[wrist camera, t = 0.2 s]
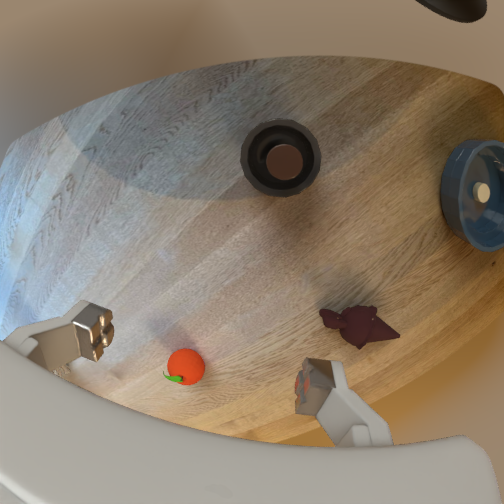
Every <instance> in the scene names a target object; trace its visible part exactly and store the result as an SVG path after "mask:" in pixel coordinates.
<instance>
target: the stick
mask: <svg viewBox="0 0 504 504" xmlns="http://www.w3.org/2000/svg"><path fill="white" fill-rule="evenodd" d="M266 164H267V168H268V170H269V172H270V173H271V174H272V175H273V176H274V177H276V178H278V179H281V180H289V179H292V178H294V177H296V176H297V175H298V174H299V173H300V171H301V169H302V166H303V159H302V155H301V153H300V152H299V151H298V150H297V149H296V148H295V147H293V146H291V145H287V144H281V145H278V146H275V147H274V148H273V149H271V151H270V152H269V153H268V156H267V160H266Z"/></svg>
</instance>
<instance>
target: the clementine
mask: <svg viewBox="0 0 504 504" xmlns="http://www.w3.org/2000/svg"><path fill="white" fill-rule="evenodd" d="M167 367H168V372H169V375H170V376H166V375H164V376H165V377H166V378H167V379H169V380H171V381H174V382H177V383H179V384H182V385H192V384H195V383H197V382H198V381H199V380H200V379H201V378H202V376H203V374H204V371H205V365H204V361H203V359H202V357H201V356H200V355H199V354H198V353H197V352H195V351H193V350H191V349H180V350H177V351H176V352H174V353H173V354H172V355H171V356H170V358H169V360H168V364H167ZM163 374H164V371H163Z"/></svg>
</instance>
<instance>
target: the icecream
mask: <svg viewBox="0 0 504 504" xmlns="http://www.w3.org/2000/svg"><path fill="white" fill-rule="evenodd" d="M376 313H377V308H376V307H373V305H372V306H370V307H367V306H359V305H357V306H355V307H351V308H350V307H347V308H346V309H344V310H343V311H342V313H341V315H340V314H339V313H336V312H334V311H331V310H328V309H320V311H319V314H320V316H321V317H322V319H323V323H324V325H325V326H326V327H328V328H332V329H337V328H338V329H339V331H340V334H341V336H342V337H343V338H344V339H345V340H346V341H347V342H348V343H350V344H352V345H354V346H356V347H357V348H358V349H359V350H360V349H361V348H362V347H363V346H364V345H366V343H368V342H375V341H382V340H389V339H396V338H400V334H399V333H397V332H396V331H395V330H394V329H392V328H391V327H390V326H389V325H387V324H386V323H385V322H384V321H382V320H381V319H380V318H379V317H377V316H376Z"/></svg>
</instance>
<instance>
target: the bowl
mask: <svg viewBox="0 0 504 504" xmlns="http://www.w3.org/2000/svg"><path fill="white" fill-rule="evenodd" d="M477 182H481V183H484V184H486V185H487V186H488V187H489V190H490V196H489V199H488V200H487V201H486V202H485V203H482V202H479V201H477V200H475V198H474V197H473V187H474V185H475V184H476V183H477ZM440 193H441V202H442V210H443V213H444V215H445V218H446V221H447V224H448V226H449V227H450V228H451V230H452V231H453V232H454V234H455V235H456V236H458V237H460V238H461V239H463V240H464V241H466V242H468V243H469V244H471V245H472V246H474V247H476V248H477V249H479V250H480V251H485V252H493V251H496V250H498V249H501V248H503V247H504V143H502V142H499V141H497V140H488V139H472V140H466V141H464V142H463V143H461V144H460V145H458V146H457V147H456V148H455V149H454V151H453V152H452V154H451V155H450V156H449V158H448V160H447V162H446V165H445V168H444V171H443V174H442V183H441V192H440Z"/></svg>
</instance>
